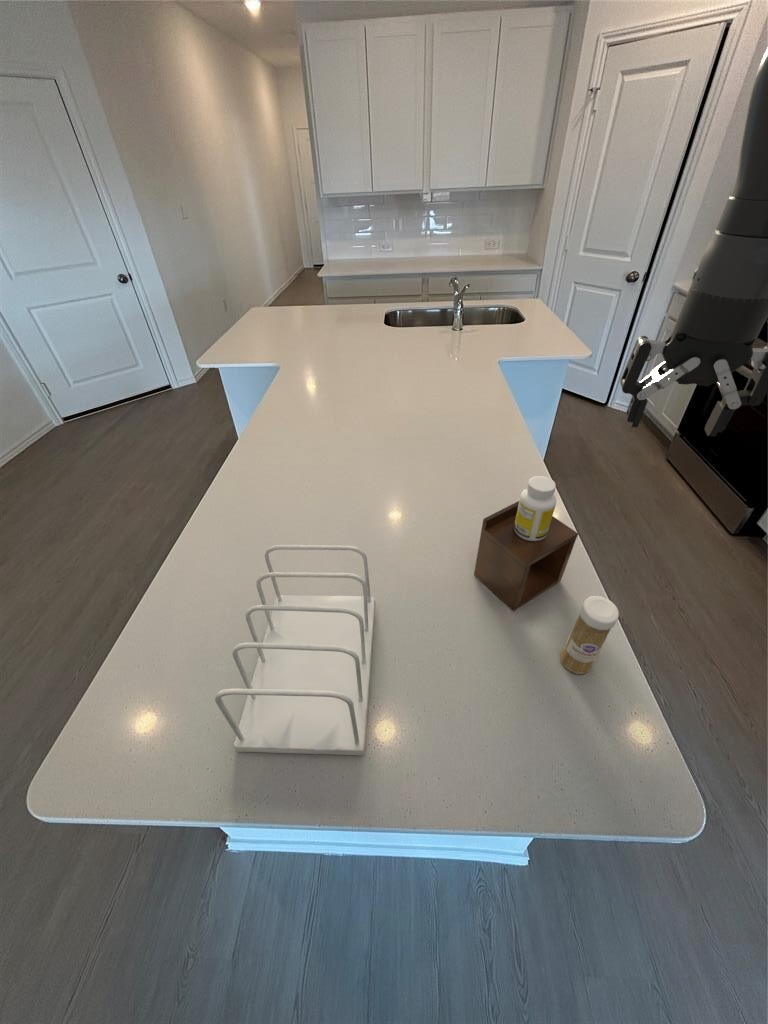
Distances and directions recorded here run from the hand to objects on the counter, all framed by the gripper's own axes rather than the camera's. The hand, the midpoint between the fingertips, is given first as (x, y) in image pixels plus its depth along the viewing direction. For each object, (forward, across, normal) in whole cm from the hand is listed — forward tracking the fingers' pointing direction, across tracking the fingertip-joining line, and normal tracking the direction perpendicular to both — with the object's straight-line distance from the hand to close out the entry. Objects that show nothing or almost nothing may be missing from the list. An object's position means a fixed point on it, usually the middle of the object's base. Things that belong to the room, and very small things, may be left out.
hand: (670, 428), depth 54 cm
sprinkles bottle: (+34, -3, -13) cm, 37 cm away
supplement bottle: (+22, -13, +2) cm, 26 cm away
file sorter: (+34, -42, -25) cm, 59 cm away
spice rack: (+34, -13, +2) cm, 36 cm away
